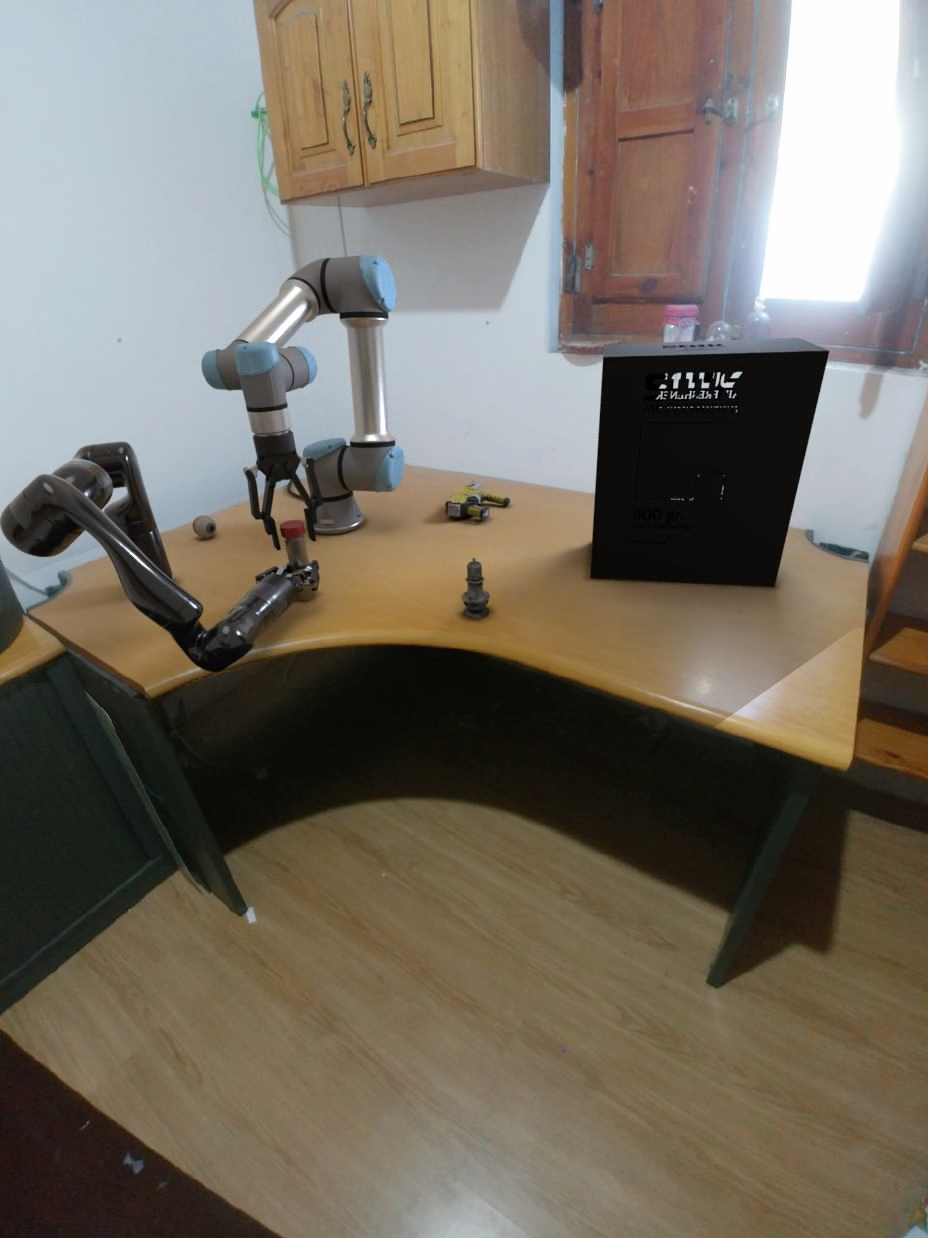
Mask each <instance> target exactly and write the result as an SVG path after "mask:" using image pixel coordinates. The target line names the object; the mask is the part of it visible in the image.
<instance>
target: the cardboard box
mask: <svg viewBox="0 0 928 1238" xmlns="http://www.w3.org/2000/svg"><path fill="white" fill-rule="evenodd" d="M829 356H830V350H829V349H827V348H824V347H822V346H819V345H817V344H815V343H813V342H809V341H808V340H804V339H802V338H799V337H787V338H786V337H785V338H756V339H755V338H753V339H751V338H750V339H724V340H691V341H689V340H688V341H661V342H631V343H604V344H603V353H602V368H601V385H600V386H601V387H600V399H599V400H600V402H599V416H598V417H599V419H598V434H597V436H598V437H597V452H596V467H595V468H596V470H595V487H594V502H593V503H594V504H593V521H592V535H591V536H592V538H591V554H590V569H589V571H590V572H589V578H590V579H600V580H625V581H647V582H665V583H666V582H667V583H668V582H669V583H688V584H689V583H691V584H692V583H693V584H714V585H735V586H755V587H756V586H757V587H759V586H760V587H776V583H777V579H778V575H779V572H780V571H779V570H780V566H781V562H782V557H783V553H784V549H785V545H786V541H787V536H788V532H789V528H790V523H791V519H792V514H793V510H794V506H795V502H796V497H797V493H798V489H799V485H800V480H801V475H802V473H803V472H802V471H803V467H804V464H805V457H806V454H807V449H808V446H809V441H810V437H811V433H812V428H813V425H814V419H815V415H816V411H817V407H818V403H819V398H820V395H821V390H822V385H823V381H824V376H825V373H826V368H827V363H828V360H829ZM735 373H740V374H739V376H738V377H733V375H734V374H735ZM676 374H680V378H678V381H677V387H674V386H675V385H674V384H675V378H673V377H674V375H676ZM687 374H692V378H691V384H694V385H693V387H689V385H690V378H687ZM701 374H703V378H700V376H701ZM718 374H719V378H718ZM722 377H723V382H722ZM717 379H718V383H717ZM722 383H723V384H727V383H729V384H731V383H733V384H732V387H731V386H730V387H726V386H725V387H724V386H723V385H722ZM703 384H708V387H702V385H703ZM662 386H665V387H664V388H663V387H662ZM661 387H662V388H661Z"/></svg>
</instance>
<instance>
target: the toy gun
mask: <svg viewBox="0 0 928 1238" xmlns="http://www.w3.org/2000/svg"><path fill="white" fill-rule="evenodd" d="M485 501H486V502H488V503H492V504H496V505H497V504H498V505H502V506H504V507H508V506H509V505H510V504H511V498H510V497H507V496H506V497H505V496H504V497H503V496H499V495H496V494H492V493H487V494H486V495H485V494H484V491H483V482H481V481H479V480H478V481H477V480H472V481H471V482H469V484H467V485H465V486H464V487H462V488H461V489H460V490H459V491H458V492H456V493H455V494H454V495H453V496H451V497H450V498H448V500H447V501H445V502H444V514H445V515H446V516H449V518H454V519H456V518H465V517H469V516H473V517H476V518H479V521H485V520H487V519H488V518H489V517H490V508H491V506H490V505H485V506H484V505H483V504H482V503H483V502H485Z"/></svg>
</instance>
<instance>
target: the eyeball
mask: <svg viewBox="0 0 928 1238" xmlns="http://www.w3.org/2000/svg"><path fill="white" fill-rule="evenodd" d="M192 529H193V532H194V533H195V534H196V535H197V536H198V537H201V538H210V537H212V536H214V535H215V533H216V531H217V523H216V521H215V520H214V519H213V518H212V517H211V516H208V515H204V514H203V515H199V516H197V517H196V518H195V519H194V520H193V521H192Z"/></svg>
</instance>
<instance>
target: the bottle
mask: <svg viewBox="0 0 928 1238" xmlns="http://www.w3.org/2000/svg"><path fill="white" fill-rule="evenodd" d="M283 541H284V545H285V550H286V555H287V559H288V563H289V564H290V569H291V574H292V573H293V572H295V571H297V570H298V569H301V570H303V569H304V568H306V567H307V566H308V565H309V564H310V559H309V554H308V550H307V549H308V548H307V544H306V543H307V542H306V539H305V534H304V535H303V536H301V537H298V538H294V539H286V538H283ZM306 577H307V573H306ZM316 595H317V594H316V591H312V590H311V588H304V590H303V591H302V592H299V593H298V594H297V596H296V599H297V600H298V601H300V602H307V601H311V600H313V599H315V598H316Z"/></svg>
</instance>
